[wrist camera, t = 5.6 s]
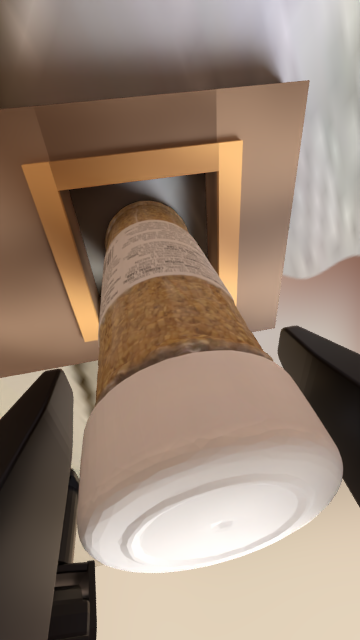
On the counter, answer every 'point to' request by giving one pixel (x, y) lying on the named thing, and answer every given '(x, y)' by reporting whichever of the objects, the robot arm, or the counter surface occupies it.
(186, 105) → the rail
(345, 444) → the robot arm
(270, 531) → the sprinkles bottle
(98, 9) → the counter surface
